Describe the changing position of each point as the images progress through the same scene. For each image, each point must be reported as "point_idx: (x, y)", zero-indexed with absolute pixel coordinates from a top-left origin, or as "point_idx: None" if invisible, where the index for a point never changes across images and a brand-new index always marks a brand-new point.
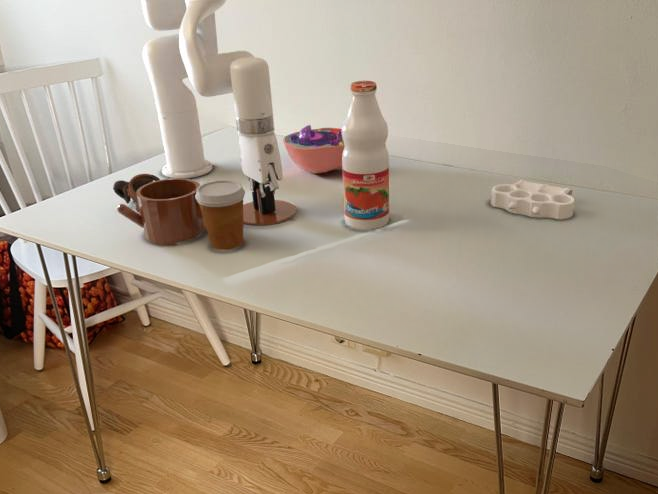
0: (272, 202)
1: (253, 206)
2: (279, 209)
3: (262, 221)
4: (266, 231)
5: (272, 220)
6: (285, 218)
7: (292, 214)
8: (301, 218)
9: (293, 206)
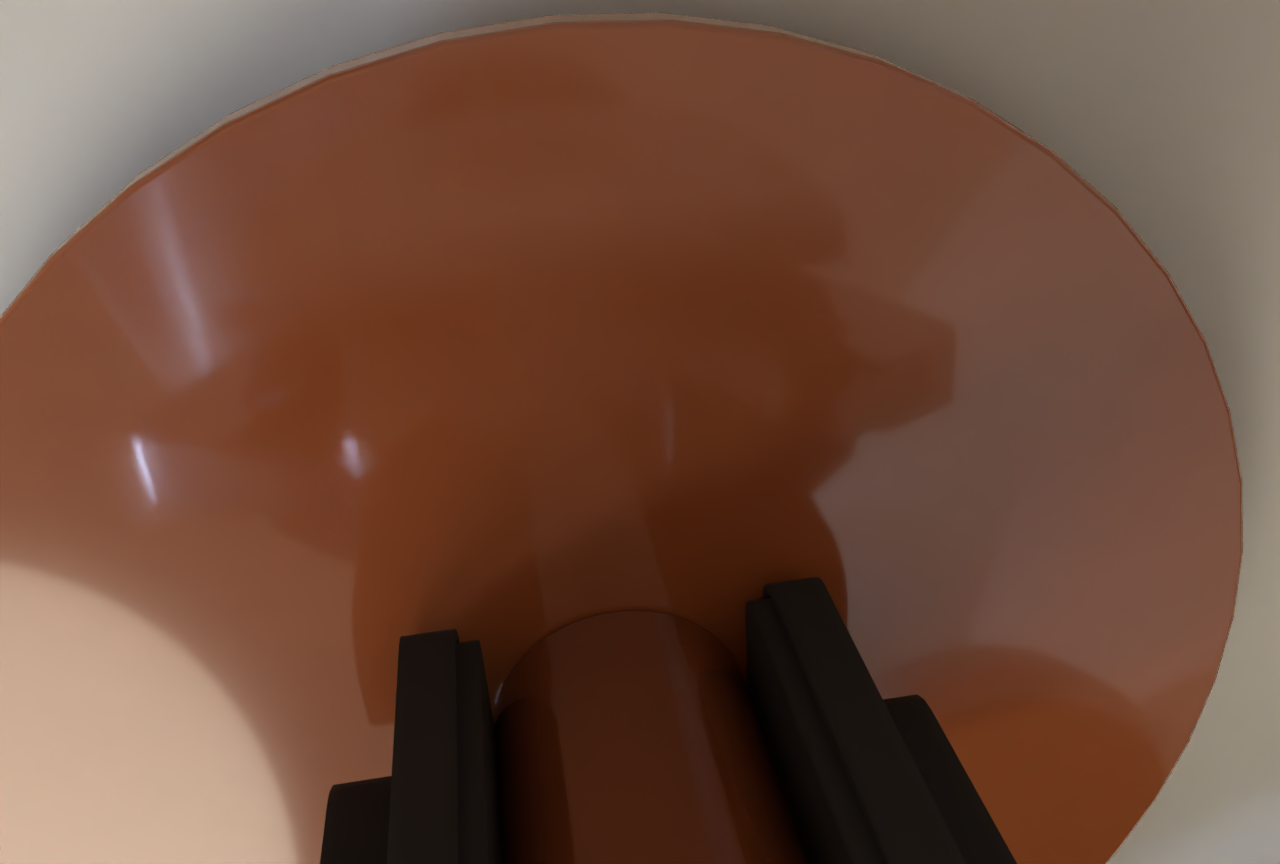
0: (980, 809)
1: (240, 821)
2: (730, 440)
3: (1030, 856)
4: (1185, 794)
5: (1127, 724)
6: (1234, 508)
7: (1182, 310)
8: (1214, 88)
9: (786, 70)
